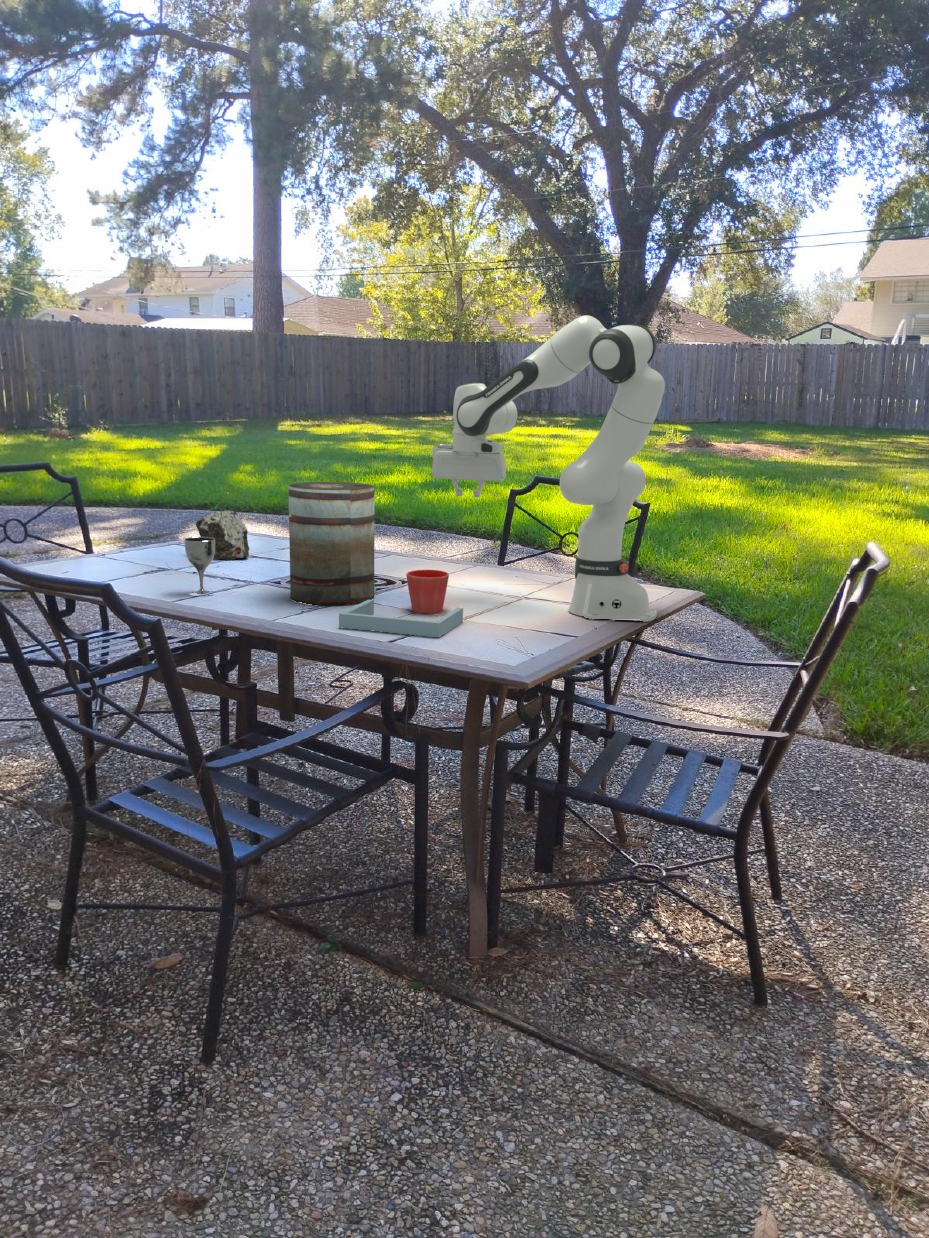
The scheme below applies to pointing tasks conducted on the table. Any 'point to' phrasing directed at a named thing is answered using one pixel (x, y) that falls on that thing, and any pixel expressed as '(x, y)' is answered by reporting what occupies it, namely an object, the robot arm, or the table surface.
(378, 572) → the table surface
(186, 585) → the table surface
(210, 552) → the silver goblet
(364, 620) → the tray frame
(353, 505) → the barrel
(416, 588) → the flower pot
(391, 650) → the table surface
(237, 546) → the stone
